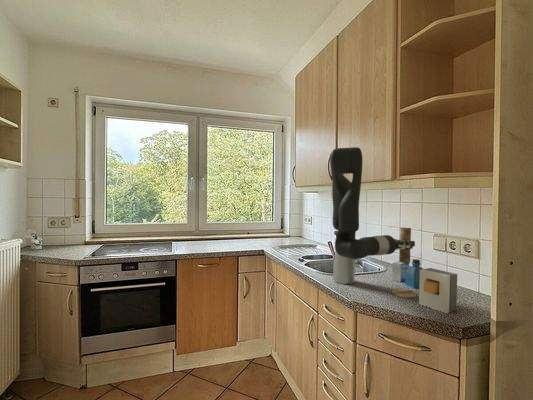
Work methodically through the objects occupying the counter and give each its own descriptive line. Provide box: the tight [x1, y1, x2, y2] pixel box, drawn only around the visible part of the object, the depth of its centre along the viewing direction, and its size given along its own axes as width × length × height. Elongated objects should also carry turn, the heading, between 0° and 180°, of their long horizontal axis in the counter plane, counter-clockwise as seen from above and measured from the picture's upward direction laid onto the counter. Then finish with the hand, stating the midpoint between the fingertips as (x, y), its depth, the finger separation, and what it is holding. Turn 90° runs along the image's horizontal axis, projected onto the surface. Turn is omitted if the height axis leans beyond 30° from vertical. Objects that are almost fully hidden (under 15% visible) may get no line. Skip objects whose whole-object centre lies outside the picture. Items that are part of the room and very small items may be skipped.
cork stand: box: [391, 288, 417, 299], centre depth 124 cm, size 9×9×1 cm
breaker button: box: [424, 280, 439, 294], centre depth 108 cm, size 3×4×3 cm
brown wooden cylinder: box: [398, 227, 412, 264], centre depth 124 cm, size 4×4×14 cm
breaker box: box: [418, 267, 458, 314], centre depth 110 cm, size 10×6×13 cm, turn 29°
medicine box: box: [391, 261, 410, 283], centre depth 146 cm, size 8×4×9 cm, turn 126°
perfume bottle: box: [404, 258, 424, 290], centre depth 136 cm, size 6×6×12 cm
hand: (408, 242), depth 125 cm, fingers closed on brown wooden cylinder, 4 cm apart
